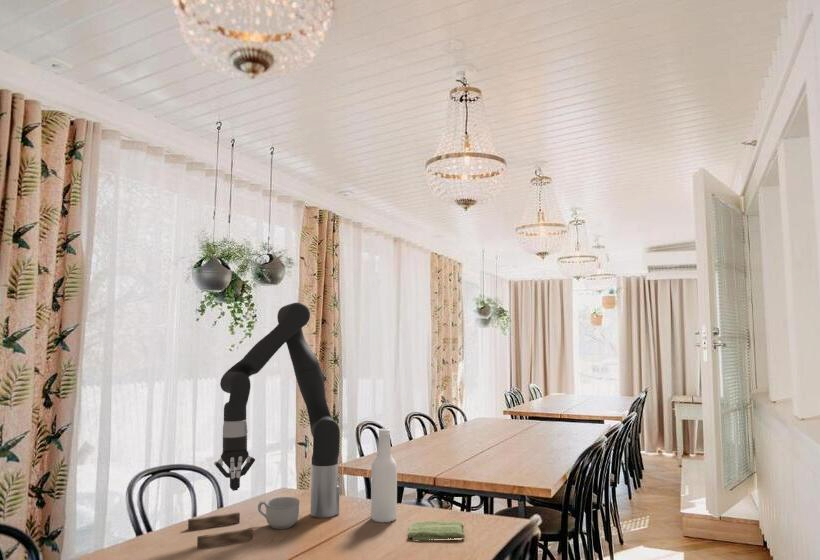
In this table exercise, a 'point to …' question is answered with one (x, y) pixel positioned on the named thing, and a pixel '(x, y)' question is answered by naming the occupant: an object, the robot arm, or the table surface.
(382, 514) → the alcohol
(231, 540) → the pair of wooden slats
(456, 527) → the washcloth
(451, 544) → the table surface
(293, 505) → the teacup
